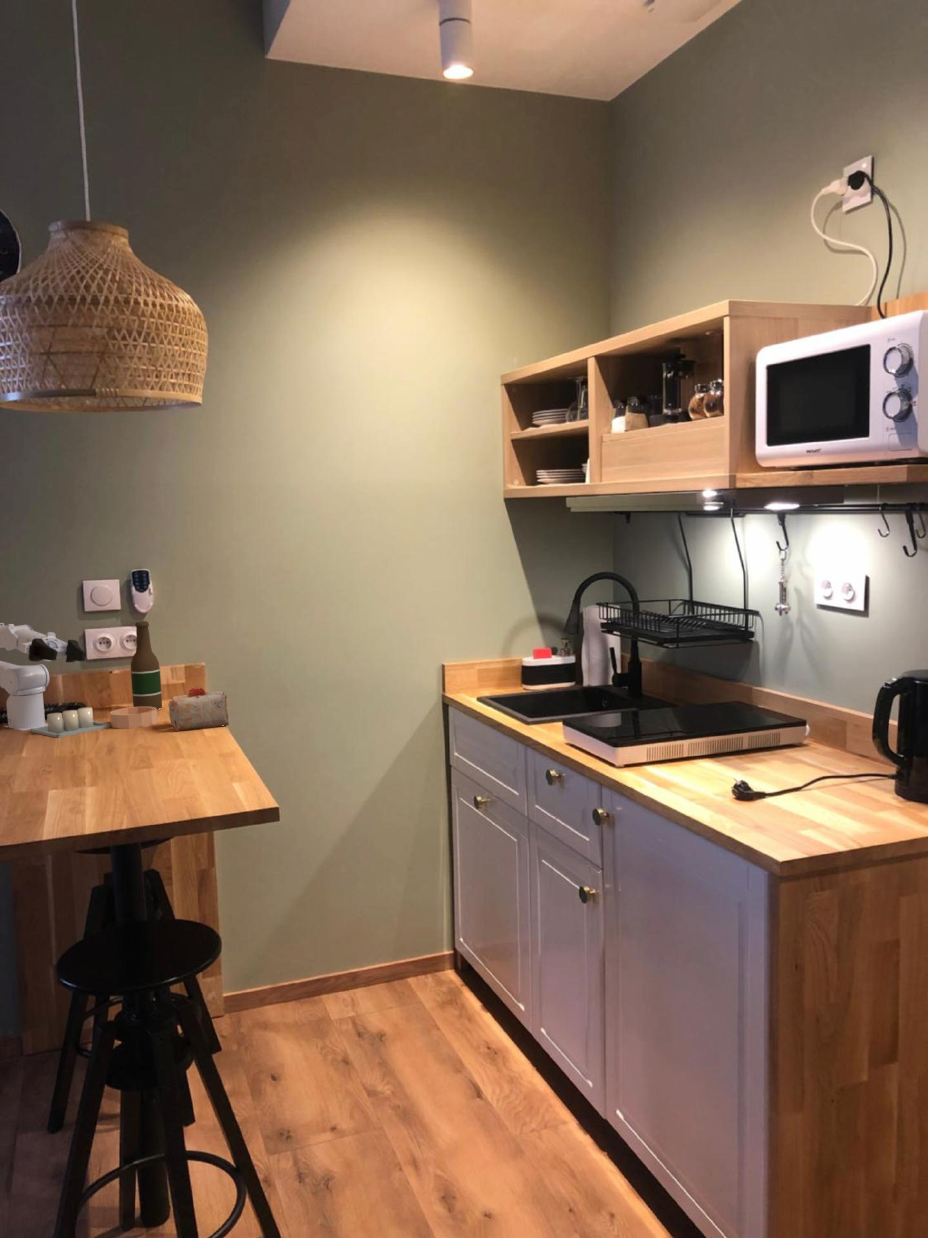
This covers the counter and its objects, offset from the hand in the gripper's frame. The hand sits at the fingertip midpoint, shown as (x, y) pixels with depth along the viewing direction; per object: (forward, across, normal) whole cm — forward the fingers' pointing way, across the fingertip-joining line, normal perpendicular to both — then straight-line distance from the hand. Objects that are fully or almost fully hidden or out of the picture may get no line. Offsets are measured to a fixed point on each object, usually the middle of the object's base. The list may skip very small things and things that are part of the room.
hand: (69, 656), depth 248 cm
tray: (-3, +6, +19) cm, 20 cm away
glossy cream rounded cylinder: (-3, +6, +19) cm, 20 cm away
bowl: (+6, +17, +16) cm, 24 cm away
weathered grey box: (+22, +24, +12) cm, 35 cm away
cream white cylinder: (-2, +10, +18) cm, 21 cm away
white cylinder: (-3, +2, +20) cm, 20 cm away
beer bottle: (-9, +33, +16) cm, 37 cm away
